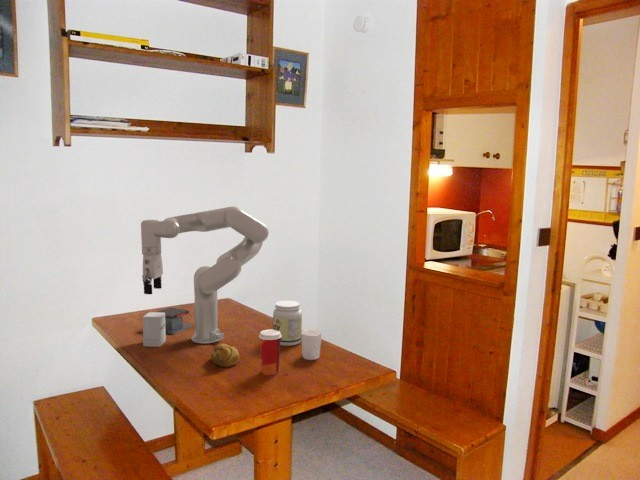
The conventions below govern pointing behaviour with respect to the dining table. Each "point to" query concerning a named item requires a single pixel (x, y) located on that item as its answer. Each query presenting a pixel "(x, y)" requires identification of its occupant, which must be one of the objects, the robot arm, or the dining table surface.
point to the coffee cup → (270, 351)
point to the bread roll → (224, 355)
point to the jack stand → (175, 320)
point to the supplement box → (154, 329)
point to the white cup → (311, 344)
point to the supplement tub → (288, 322)
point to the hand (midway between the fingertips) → (153, 291)
